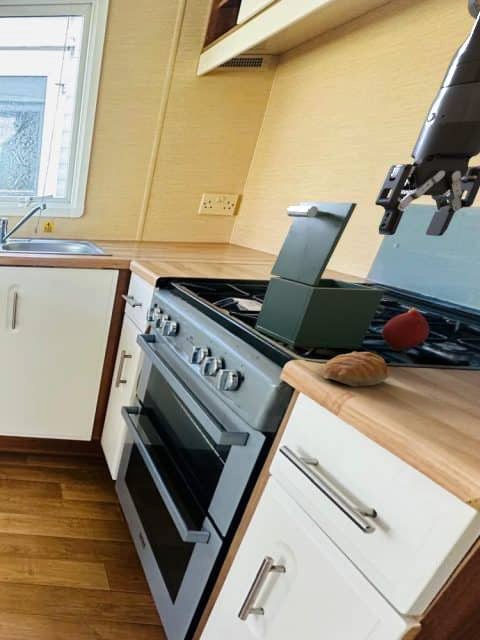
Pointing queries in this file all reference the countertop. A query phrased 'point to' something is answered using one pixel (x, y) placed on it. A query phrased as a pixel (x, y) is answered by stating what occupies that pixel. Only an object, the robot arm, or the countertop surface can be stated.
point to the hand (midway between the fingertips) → (409, 235)
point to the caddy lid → (311, 240)
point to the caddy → (318, 312)
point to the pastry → (357, 369)
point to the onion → (405, 330)
